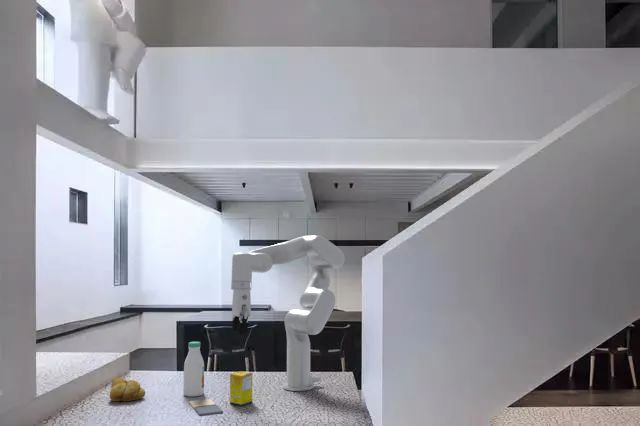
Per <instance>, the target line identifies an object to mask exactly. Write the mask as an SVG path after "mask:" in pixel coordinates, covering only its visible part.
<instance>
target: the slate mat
mask: <svg viewBox="0 0 640 426" xmlns="http://www.w3.org/2000/svg"><path fill="white" fill-rule="evenodd" d="M194 411H195V412H196V413H197V414H198V415H199V417H202V416H208V415H217V414H223V413H224V410H223V409H221V408H220V407H219V406H218V405H217V404H216V405H214V406H206V407H197V408H194Z"/></svg>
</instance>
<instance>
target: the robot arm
mask: <svg viewBox="0 0 640 426" xmlns="http://www.w3.org/2000/svg"><path fill="white" fill-rule="evenodd" d="M305 257H309V263H310V267H311V277H310V279H309V281H308V283H307V285H306V287H305V288H304V289H303V292H302V294H301V295H300V298H299V305H300V307H301V308H294V309H290V310H289V311H288V312H287V313H285V314H286V315H285V316H284V328H285V332H286V334H285V335H286V382H284V383H283V384H282V388H283V389H284V390H286V391H292V392H306V391H310V390H312V389H314V388H315V385H314V383H315V382H317V383H318V382H322V377H321V376H316V375H314V376H313V375H311V341H310V337H309V335H312V336H315V335H318V334H320V333H321V332H322V331H323V329H324V328H325V325H326V324H327V323H328V320H329V319H330V316H331V315H332V312H333V310H334V308H335V305H336V297H335V296H336V295H335V293H334V292H333V291H332V290H331V289H329V287H330V285H331V278H330V277H331V276H330V273H329V269H333V270H334V269H339V268H341V267H342V266H343V265H344V263H345V260H346V258H345V254H344V252H343V250H342V249H340V248H339V247H338V246H336V245H335V244H334V243H332V242H331V241H330V240H329V239H327V238H326V237H324V236H321V235H317V234H315V235H303V236H299V237H296V238H294V239H290V240H287V241H284V242H280V243H277V244H274V245H270V246H265V247H261V248H257V249H254V250H251V251H249V252H235V253H233V254H232V258H231V259H232V261H231V262H232V263H231V264H232V265H231V284H230V285H231V287H230V289H231V290H232V292H233V293H232V301H231V303H232V304H231V305H232V307H231V314H232V320H231V323H232V326H231V330H232V331H233V332H237V331H238V334H239V335H246V334H248V331H249V329H248V328H249V326H248V325H249V317H251V315H252V314H251V312H252V311H251V310H252V307H251V306H252V305H251V304H252V303H251V302H252V301H251V300H252V299H251V291H252V286H253V285H252V283H253V282H252V280H253V278H252V277H253V273H259V274H260V273H261V274H262V273H268V272H269V271H270V270H271V269H272V268H273V265H275V266H276V265H284V264H285V265H286V264H289V263H292V262H293V263H294V262H295V261H297V260H300V259H303V258H305Z"/></svg>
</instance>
